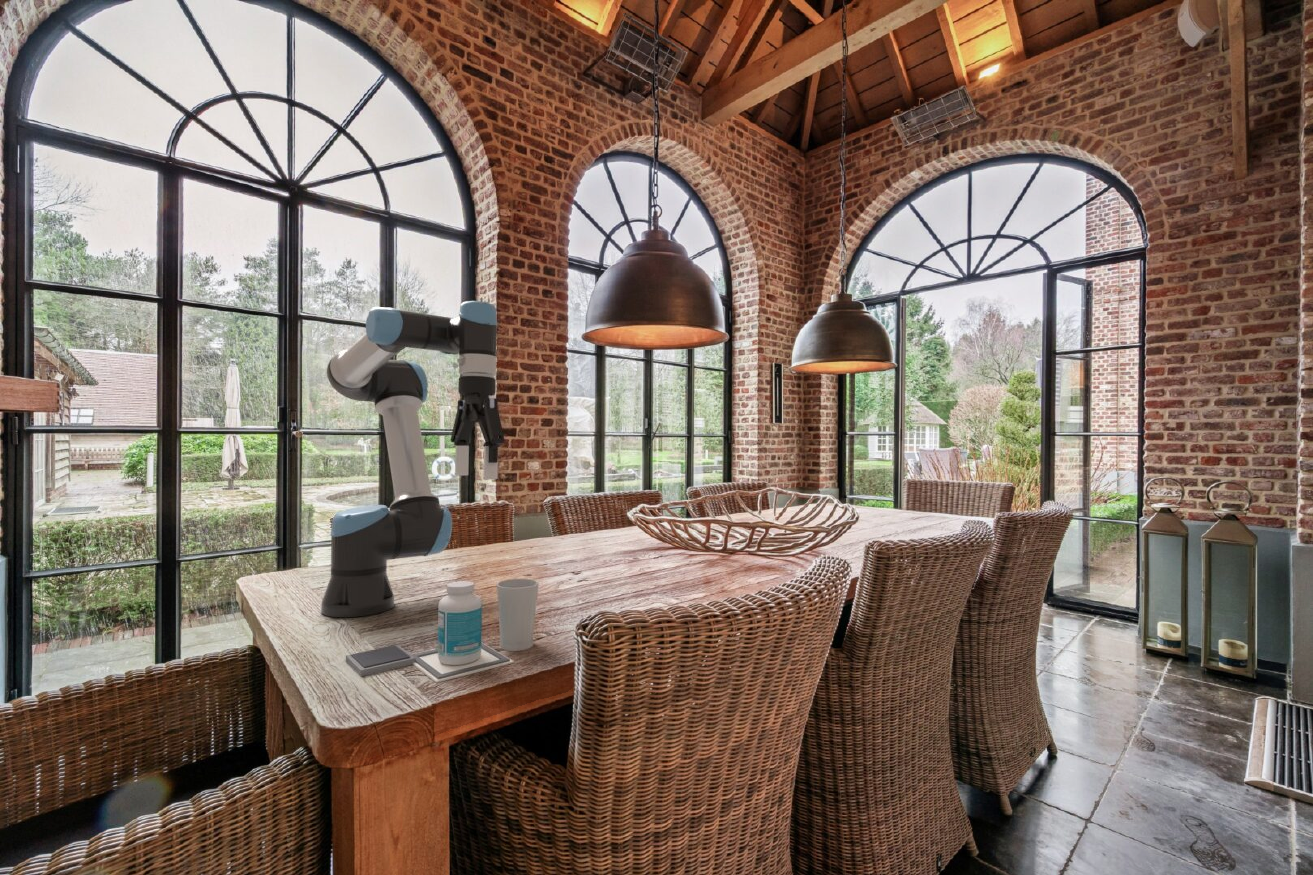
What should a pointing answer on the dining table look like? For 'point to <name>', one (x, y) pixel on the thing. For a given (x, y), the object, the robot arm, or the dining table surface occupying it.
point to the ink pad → (379, 660)
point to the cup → (517, 613)
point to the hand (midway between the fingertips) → (475, 477)
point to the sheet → (444, 672)
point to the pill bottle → (459, 624)
